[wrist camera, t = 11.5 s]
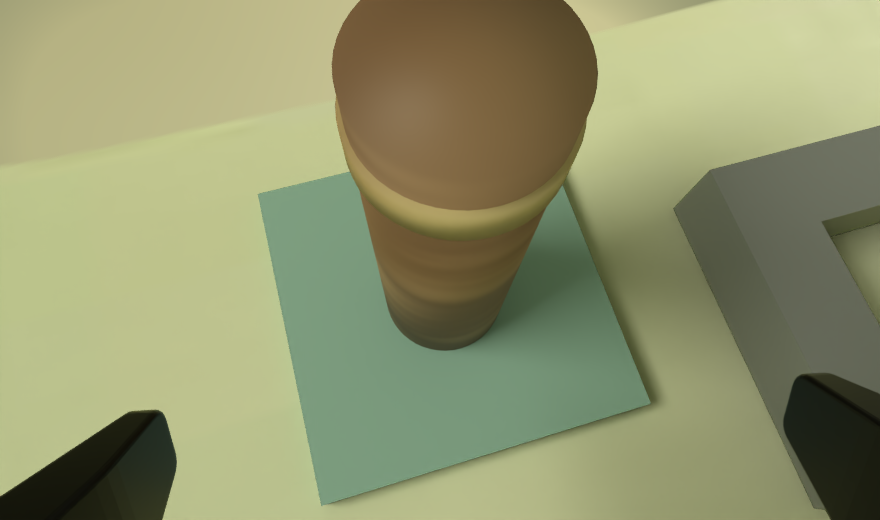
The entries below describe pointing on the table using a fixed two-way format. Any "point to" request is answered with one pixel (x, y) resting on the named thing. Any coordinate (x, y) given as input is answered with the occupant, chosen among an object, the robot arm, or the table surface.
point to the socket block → (791, 263)
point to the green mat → (434, 371)
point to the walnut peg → (458, 145)
